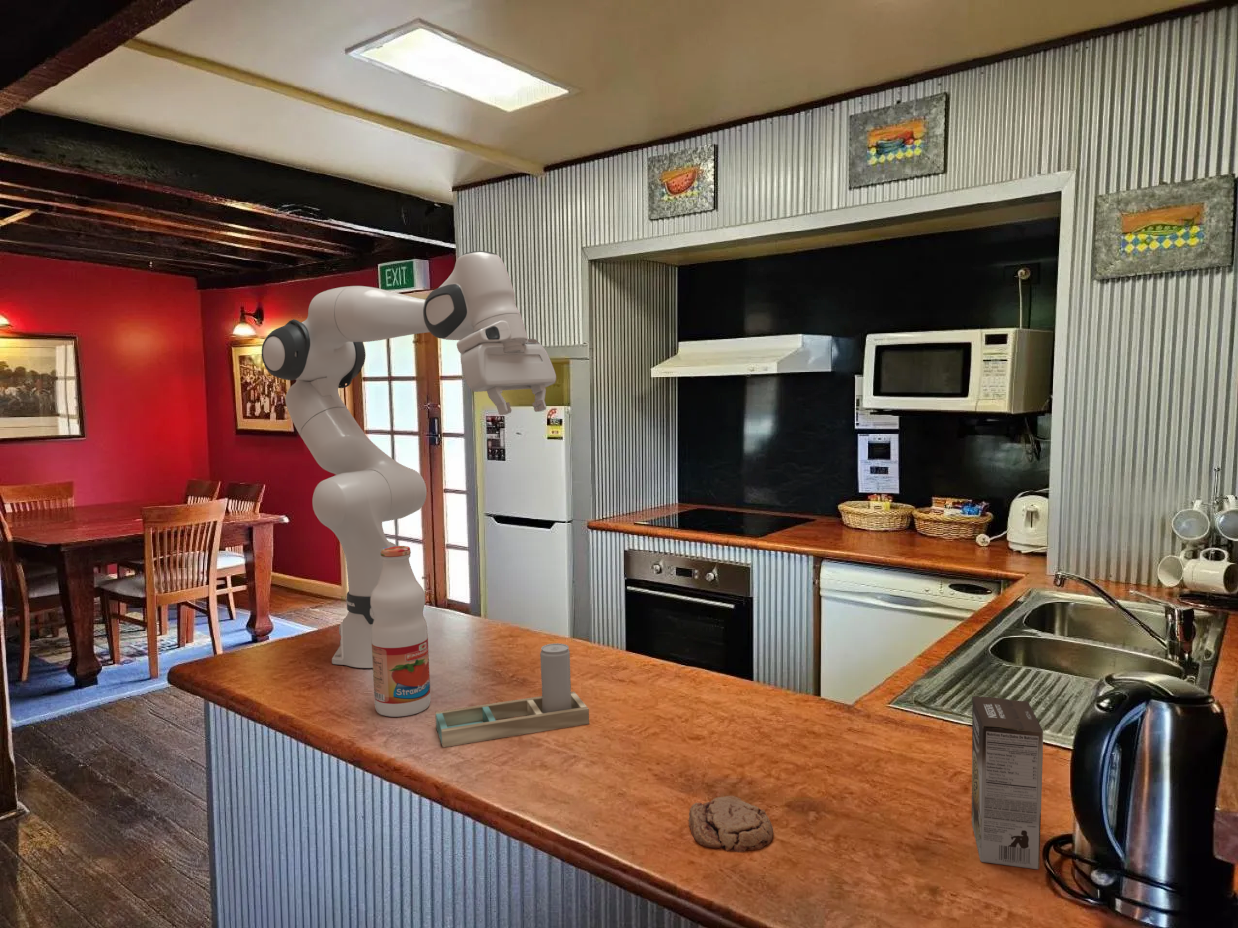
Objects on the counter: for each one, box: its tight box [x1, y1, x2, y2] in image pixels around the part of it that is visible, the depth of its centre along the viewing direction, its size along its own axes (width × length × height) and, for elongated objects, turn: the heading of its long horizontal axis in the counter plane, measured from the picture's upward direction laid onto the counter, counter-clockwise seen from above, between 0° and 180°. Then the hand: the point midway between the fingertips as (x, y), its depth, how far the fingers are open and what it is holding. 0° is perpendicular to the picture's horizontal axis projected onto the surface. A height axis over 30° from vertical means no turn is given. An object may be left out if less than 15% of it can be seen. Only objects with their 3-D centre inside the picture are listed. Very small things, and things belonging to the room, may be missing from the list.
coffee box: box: [971, 696, 1044, 870], centre depth 96 cm, size 9×6×16 cm
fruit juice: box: [370, 545, 432, 718], centre depth 143 cm, size 9×9×28 cm
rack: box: [434, 691, 590, 748], centre depth 135 cm, size 8×24×2 cm, turn 109°
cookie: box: [688, 795, 774, 853], centre depth 102 cm, size 10×11×3 cm
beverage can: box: [540, 642, 572, 714], centre depth 137 cm, size 5×5×12 cm
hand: (523, 412), depth 147 cm, fingers open, 8 cm apart
